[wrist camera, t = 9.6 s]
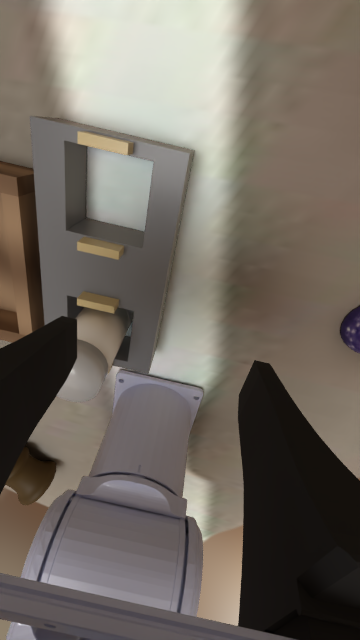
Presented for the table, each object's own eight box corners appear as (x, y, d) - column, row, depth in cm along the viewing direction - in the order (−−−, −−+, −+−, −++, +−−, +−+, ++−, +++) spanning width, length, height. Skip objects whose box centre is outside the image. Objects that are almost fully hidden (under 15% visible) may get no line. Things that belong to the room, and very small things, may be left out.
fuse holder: (155, 349, 25) (145, 382, 22) (64, 328, 25) (39, 358, 22) (194, 150, 17) (188, 154, 14) (58, 118, 17) (17, 114, 14)
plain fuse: (132, 332, 24) (98, 407, 18) (89, 322, 24) (40, 394, 18) (136, 294, 22) (101, 363, 16) (90, 284, 22) (35, 348, 16)
